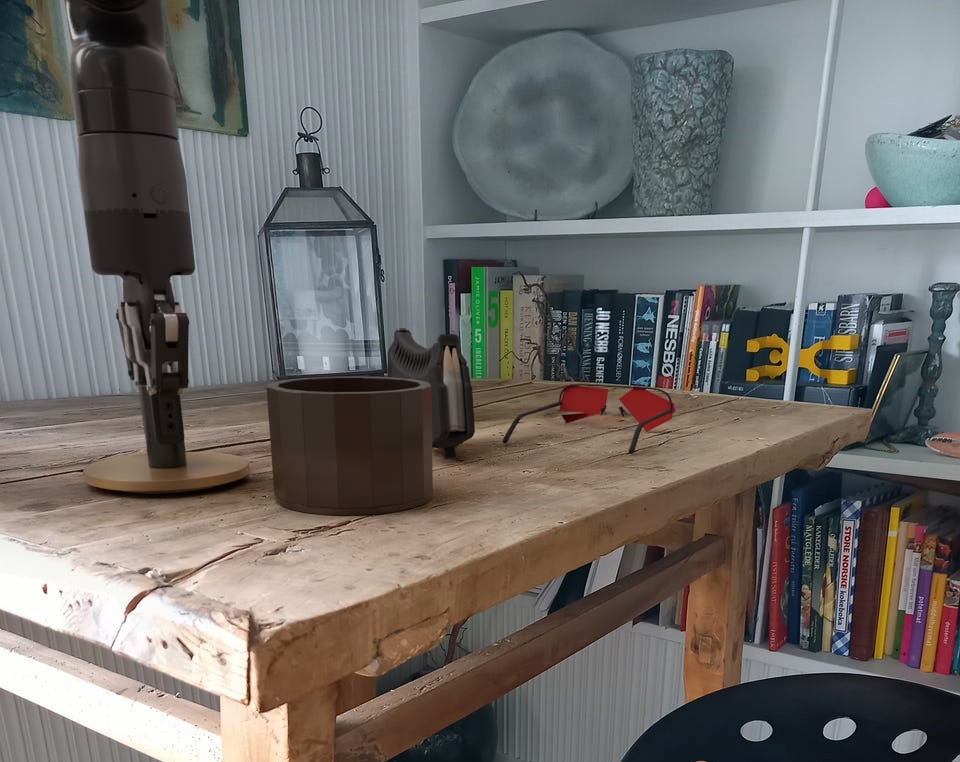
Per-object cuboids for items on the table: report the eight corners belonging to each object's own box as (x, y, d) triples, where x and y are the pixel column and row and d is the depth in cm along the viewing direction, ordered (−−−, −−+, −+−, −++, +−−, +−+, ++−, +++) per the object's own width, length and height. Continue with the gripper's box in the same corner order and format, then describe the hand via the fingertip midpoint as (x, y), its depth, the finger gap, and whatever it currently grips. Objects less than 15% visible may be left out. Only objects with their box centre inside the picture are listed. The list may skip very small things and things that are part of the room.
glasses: (675, 432, 104) (679, 386, 102) (632, 455, 90) (636, 402, 88) (558, 424, 110) (560, 380, 108) (501, 444, 96) (502, 394, 94)
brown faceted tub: (310, 522, 65) (302, 396, 62) (254, 490, 74) (245, 380, 71) (460, 503, 70) (459, 388, 67) (389, 476, 80) (387, 374, 77)
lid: (102, 506, 69) (86, 396, 66) (73, 476, 79) (58, 380, 76) (271, 488, 75) (264, 387, 72) (224, 462, 86) (215, 373, 83)
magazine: (381, 339, 111) (429, 255, 82) (408, 339, 112) (465, 256, 83) (392, 484, 112) (442, 452, 83) (418, 483, 113) (477, 451, 84)
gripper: (68, 211, 74) (99, 432, 80) (102, 198, 62) (136, 457, 69) (164, 214, 77) (188, 426, 83) (214, 203, 66) (236, 448, 72)
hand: (164, 439), depth 76 cm, fingers closed on lid, 3 cm apart
